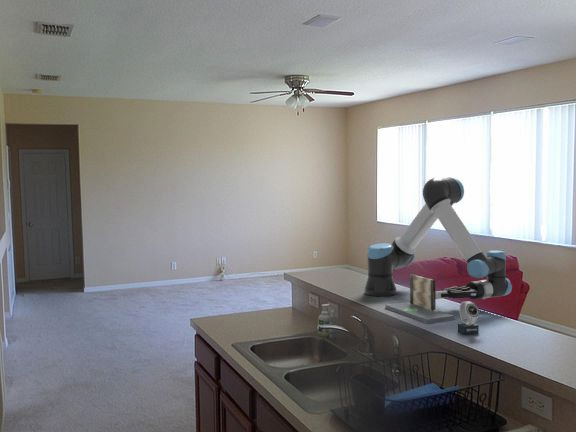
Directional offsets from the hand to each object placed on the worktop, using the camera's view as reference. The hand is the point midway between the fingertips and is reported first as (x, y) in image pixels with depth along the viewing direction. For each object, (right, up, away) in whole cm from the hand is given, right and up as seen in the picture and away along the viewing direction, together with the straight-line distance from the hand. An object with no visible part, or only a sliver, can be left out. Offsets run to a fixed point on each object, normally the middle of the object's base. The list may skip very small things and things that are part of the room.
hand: (433, 295), depth 217 cm
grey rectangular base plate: (-5, -7, +2) cm, 9 cm away
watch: (+5, -9, -27) cm, 29 cm away
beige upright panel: (-3, -5, +5) cm, 8 cm away
